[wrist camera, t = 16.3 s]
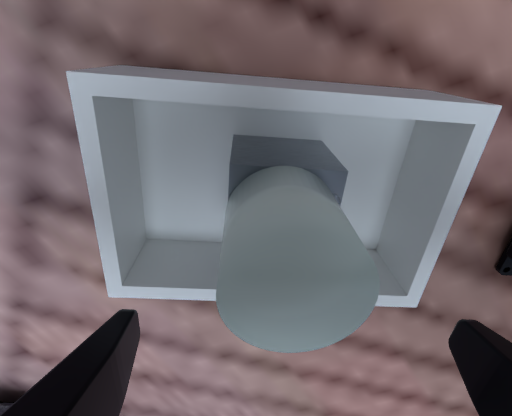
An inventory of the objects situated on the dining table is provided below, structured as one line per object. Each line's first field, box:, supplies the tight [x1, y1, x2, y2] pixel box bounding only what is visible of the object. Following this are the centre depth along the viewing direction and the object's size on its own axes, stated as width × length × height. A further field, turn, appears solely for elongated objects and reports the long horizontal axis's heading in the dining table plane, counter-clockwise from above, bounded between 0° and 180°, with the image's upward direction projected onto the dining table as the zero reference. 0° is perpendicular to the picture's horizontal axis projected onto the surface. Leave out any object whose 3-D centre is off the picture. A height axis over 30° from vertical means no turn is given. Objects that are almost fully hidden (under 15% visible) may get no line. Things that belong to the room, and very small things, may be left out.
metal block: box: [228, 134, 348, 206], centre depth 16 cm, size 5×5×5 cm
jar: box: [216, 166, 380, 353], centre depth 12 cm, size 5×5×5 cm
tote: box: [66, 65, 502, 307], centre depth 17 cm, size 17×11×6 cm, turn 86°
